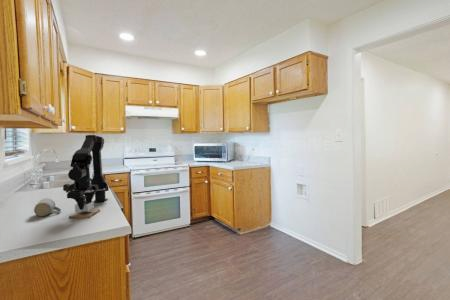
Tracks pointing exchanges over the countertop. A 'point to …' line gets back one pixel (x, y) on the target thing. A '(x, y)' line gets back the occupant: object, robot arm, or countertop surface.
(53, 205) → the ceramic mug
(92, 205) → the grey square socket
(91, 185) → the robot arm
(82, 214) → the keeper
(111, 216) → the countertop surface
